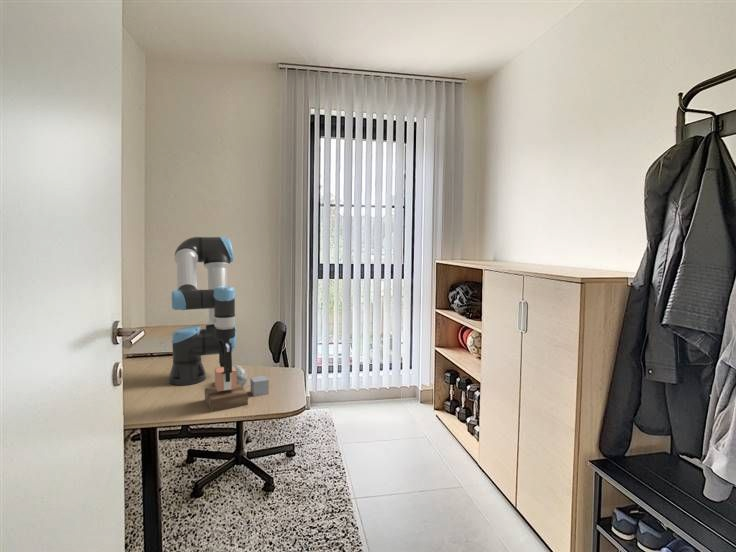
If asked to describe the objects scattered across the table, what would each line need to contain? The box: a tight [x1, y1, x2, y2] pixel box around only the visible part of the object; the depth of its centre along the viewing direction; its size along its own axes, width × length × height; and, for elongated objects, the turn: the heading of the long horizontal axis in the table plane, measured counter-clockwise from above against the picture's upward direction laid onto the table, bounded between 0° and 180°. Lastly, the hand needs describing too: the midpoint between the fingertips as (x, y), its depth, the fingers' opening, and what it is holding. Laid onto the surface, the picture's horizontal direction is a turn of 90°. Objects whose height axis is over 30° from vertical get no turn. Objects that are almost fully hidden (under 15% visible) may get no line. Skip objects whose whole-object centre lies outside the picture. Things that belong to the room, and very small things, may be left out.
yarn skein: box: [232, 363, 248, 388], centre depth 184 cm, size 14×10×10 cm
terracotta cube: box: [214, 366, 237, 391], centre depth 164 cm, size 7×7×7 cm
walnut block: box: [204, 383, 249, 413], centre depth 164 cm, size 13×13×5 cm
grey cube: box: [250, 375, 270, 397], centre depth 175 cm, size 6×6×6 cm
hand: (225, 386), depth 164 cm, fingers closed on terracotta cube, 7 cm apart
